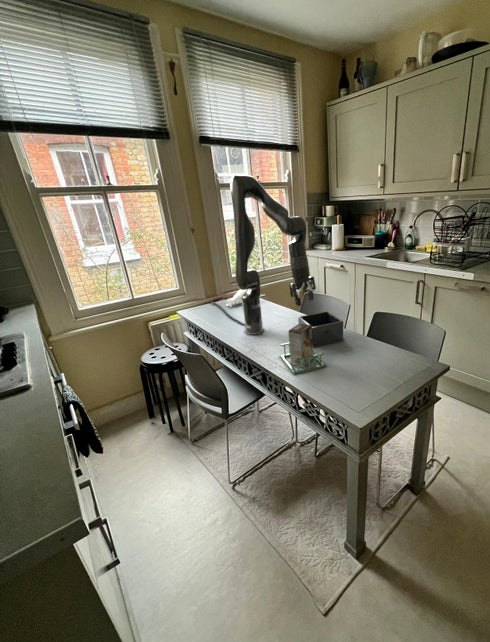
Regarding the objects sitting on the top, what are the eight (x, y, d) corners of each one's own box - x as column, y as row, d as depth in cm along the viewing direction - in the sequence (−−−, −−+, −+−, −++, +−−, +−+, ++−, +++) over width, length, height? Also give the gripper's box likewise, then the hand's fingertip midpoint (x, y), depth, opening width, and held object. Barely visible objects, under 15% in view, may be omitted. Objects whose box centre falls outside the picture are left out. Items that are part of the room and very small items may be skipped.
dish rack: (280, 357, 142) (279, 344, 139) (309, 350, 146) (308, 338, 144) (294, 374, 128) (293, 360, 125) (325, 366, 132) (325, 353, 130)
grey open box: (299, 334, 163) (298, 316, 159) (327, 328, 169) (327, 311, 165) (312, 347, 149) (311, 327, 145) (343, 340, 155) (343, 321, 151)
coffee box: (301, 355, 142) (299, 322, 136) (313, 358, 139) (312, 325, 132) (290, 364, 135) (287, 330, 129) (303, 368, 132) (301, 333, 125)
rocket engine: (222, 294, 205) (245, 282, 213) (220, 301, 215) (242, 290, 223) (232, 308, 204) (254, 296, 212) (229, 315, 214) (251, 303, 222)
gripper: (304, 263, 142) (308, 298, 147) (282, 270, 132) (288, 307, 138) (316, 262, 137) (321, 299, 142) (295, 269, 127) (301, 308, 133)
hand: (305, 302), depth 140 cm, fingers open, 8 cm apart
